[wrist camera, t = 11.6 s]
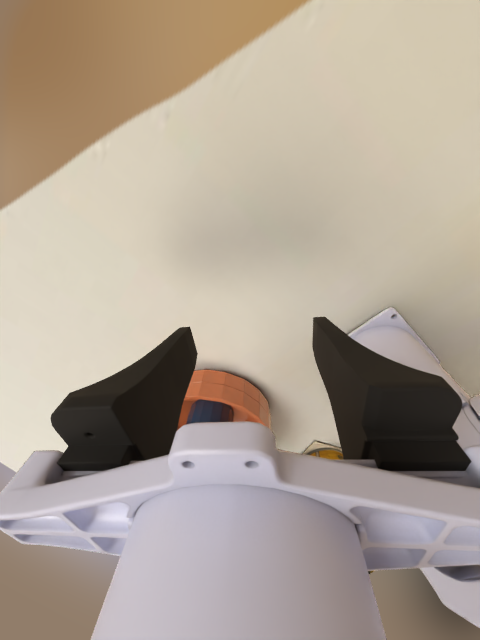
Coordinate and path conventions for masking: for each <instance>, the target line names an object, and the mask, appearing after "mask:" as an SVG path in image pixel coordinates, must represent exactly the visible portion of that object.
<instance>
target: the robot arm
mask: <svg viewBox="0 0 480 640" xmlns="http://www.w3.org/2000/svg"><path fill="white" fill-rule="evenodd" d="M392 315H395V316H394V317H391V316H392ZM313 351H314V356H315V360H316V363H317V366H318V369H319V372H320V374H321V377H322V380H323V382H324V385H325V388H326V390H327V393H328V396H329V399H330V402H331V406H332V410H333V414H334V418H335V422H336V427H337V431H338V435H339V440H340V444H341V449H342V453H343V458H344V460H331V459H326V458H320V457H315V456H310V455H305V454H300V453H295V452H290V451H285V450H280V449H277V448H276V443H275V436H274V434H273V432H272V431H271V429H269V428H268V427H266V426H264V425H262V424H261V423H256V422H249V421H245V422H205V423H191V424H187V425H183V426H182V427H181V428H180V429H178V430H177V428H178V422H179V418H180V413H181V409H182V405H183V401H184V398H185V395H186V392H187V390H188V387H189V384H190V381H191V378H192V375H193V372H194V369H195V365H196V359H197V350H196V347H195V343H194V340H193V336H192V332H191V329H190V327H182V328H179V329H178V330H176V331H175V332H174V333H173V334H172V335H170V336H169V337H168V338H167V339H166V340H164V341H163V342H162V343H161V344H160V345H159V346H157V347H156V348H155V349H153V350H152V351H151V352H149V353H148V354H147V355H146V356H144V357H143V358H141V359H140V360H138V361H137V362H135V363H134V364H132V365H130V366H129V367H127V368H125V369H123V370H122V371H120V372H118V373H116V374H114V375H112V376H110V377H108V378H106V379H104V380H102V381H99V382H97V383H95V384H92V385H90V386H87V387H85V388H82V389H79V390H77V391H74V392H71V393H69V394H68V396H67V397H66V398H65V399H64V400H63V402H62V403H61V404H60V405H59V406H58V407H57V409H56V410H55V411H54V412H53V413H52V415H51V423H52V426H53V427H54V429H55V430H56V432H57V433H58V434H59V435H60V436H61V437H62V439H63V440H64V441H65V442H66V443H67V445H68V448H67V449H66V451H65V452H64V453H63V452H60V451H55V450H52V451H34V452H33V453H32V454H31V456H30V457H29V458H28V459H27V461H26V462H25V463H24V464H23V466H22V467H21V468H20V469H19V471H18V472H17V473H16V475H15V476H14V477H13V478H12V479H11V481H10V482H9V483H8V484H7V486H6V487H5V488H4V489H3V490H2V492H1V493H0V530H1V531H3V532H5V533H6V534H8V535H9V536H11V537H12V538H14V539H15V540H17V541H18V542H20V543H22V544H34V545H48V546H57V547H65V548H72V549H79V550H85V551H92V552H98V553H104V554H110V555H116V556H120V559H119V562H118V565H117V567H116V570H115V573H114V576H113V579H112V581H111V584H110V587H109V590H108V593H107V596H106V598H105V601H104V604H103V606H102V610H101V612H100V615H99V618H98V620H97V623H96V626H95V629H94V632H93V634H92V637H91V640H387V639H386V636H385V632H384V628H383V625H382V621H381V617H380V614H379V610H378V606H377V602H376V599H375V595H374V592H373V588H372V585H371V581H370V577H369V573H368V571H376V570H394V569H409V568H420V569H421V571H422V572H423V574H424V575H425V576H426V578H427V579H428V581H429V582H430V583H431V585H432V587H433V588H434V590H435V591H436V593H437V595H438V596H439V598H440V599H441V601H442V602H443V604H444V605H445V606H447V607H448V608H449V609H451V610H452V611H454V612H455V613H457V614H458V615H460V616H462V617H463V618H465V619H466V620H468V621H469V622H471V623H472V624H474V625H476V626H477V627H479V628H480V395H476V396H474V397H473V398H471V397H470V396H469V395H468V394H467V393H466V392H465V391H464V390H463V389H462V388H461V387H460V386H459V385H458V384H457V383H456V382H455V380H454V379H453V378H452V377H451V376H450V375H449V374H448V373H447V372H446V371H445V370H444V369H443V368H442V367H441V366H440V365H439V364H440V360H439V359H438V358H437V357H436V356H435V355H434V353H433V352H432V351H431V350H430V349H429V348H428V347H427V345H426V344H425V343H424V342H423V341H422V340H421V338H420V337H419V336H418V335H417V334H416V333H415V332H414V330H413V329H412V328H411V327H410V326H409V325H408V323H407V322H406V321H405V320H404V319H403V318H402V316H401V315H400V314H399V313H398V312H397V311H396V310H395V309H394V308H393V307H389V308H387V309H385V310H384V311H382V312H381V313H379V314H378V315H376V316H375V317H373V318H372V319H370V320H369V321H367V322H366V323H364V324H363V325H361V326H360V327H358V328H357V329H355V330H354V331H352V332H351V333H349V334H348V335H347V334H345V333H344V332H343V331H341V330H340V329H339V328H338V327H336V326H335V325H334V324H333V323H332V322H330V321H329V320H328V319H327V318H326V317H315V318H313Z"/></svg>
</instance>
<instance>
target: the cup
mask: <svg viewBox="0 0 480 640" xmlns="http://www.w3.org/2000/svg"><path fill="white" fill-rule="evenodd" d="M205 422H234V411H233V408H232V407H231V406H230V405H228V404H225V403H222V402H217V401H209V400H202V399H199V400H197V401H195V402H194V403H193V404H192V406H191V408H190V411H189V414H188V417H187V421H186V424H185V425H187V424H191V423H205Z"/></svg>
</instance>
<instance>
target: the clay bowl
mask: <svg viewBox="0 0 480 640" xmlns="http://www.w3.org/2000/svg"><path fill="white" fill-rule="evenodd" d="M199 399H202V400H209V401H217V402H222V403H225V404H228V405H230V406H231V407H232V408H233V411H234V422H245V421H249V422H256V423H261V424H262V425H264V426H266V427H268V428H269V429H271V414H270V409H269V404H268V402H267V400H266V399H265V397H264V396H263V395H262V393H261V392H260V390H259V389H257V388H256V387H255V386H253V385H252V384H250V383H249V382H248V381H246V380H244V379H242V378H240V377H237V376H235V375H232V374H229V373H227V372H221V371H214V370H197V371H194V372H193V375H192V378H191V381H190V384H189V387H188V390H187V392H186V395H185V398H184V401H183V405H182V409H181V413H180V418H179V422H178V428H177V430H178V429H180V428H181V427H182V426H183V425H185V424H186V421H187V417H188V414H189V411H190V408H191V406H192V404H193V403H194V402H195V401H197V400H199Z"/></svg>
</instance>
